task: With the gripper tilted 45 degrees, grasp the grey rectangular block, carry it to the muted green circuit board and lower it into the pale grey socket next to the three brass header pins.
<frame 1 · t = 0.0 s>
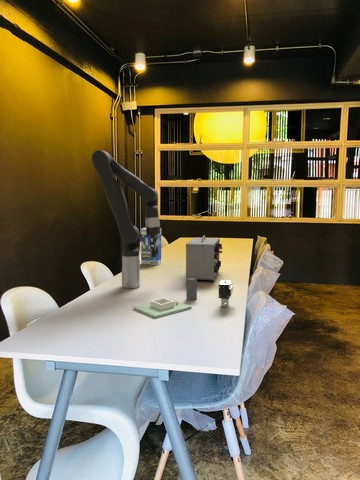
hand: (155, 255, 199), 17 cm above the table, tool pointing down, fingers open, 8 cm apart
string lights box: (151, 264, 267), on the table
circuit board: (162, 308, 163), on the table
vintage electronic device: (205, 276, 227), on the table
grey rectangular block: (191, 299, 178), on the table
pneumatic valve: (225, 306, 167), on the table
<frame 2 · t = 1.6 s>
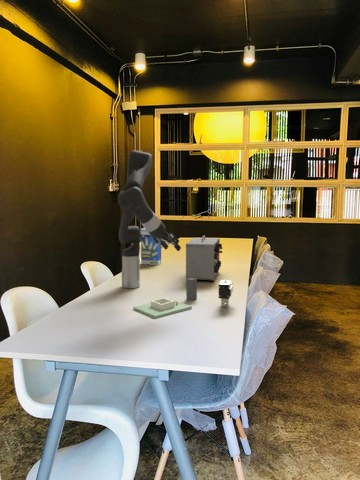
hand: (173, 248, 169), 25 cm above the table, tool tilted 45°, fingers open, 8 cm apart
nothing on the table moved.
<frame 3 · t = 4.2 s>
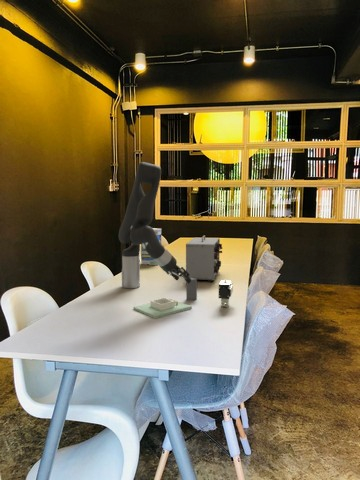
hand: (183, 280, 173), 10 cm above the table, tool tilted 45°, fingers open, 8 cm apart
nothing on the table moved.
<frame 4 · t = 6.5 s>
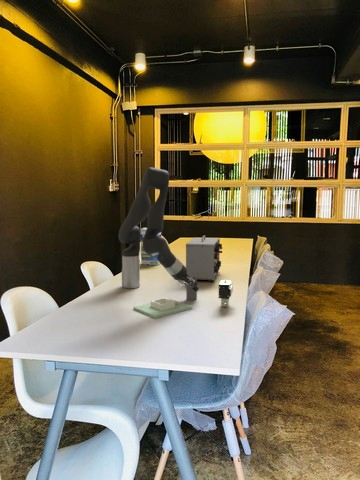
hand: (194, 289, 178), 5 cm above the table, tool tilted 45°, fingers closed on grey rectangular block, 3 cm apart
grey rectangular block: (191, 299, 178), on the table, touching gripper
everything else where it was.
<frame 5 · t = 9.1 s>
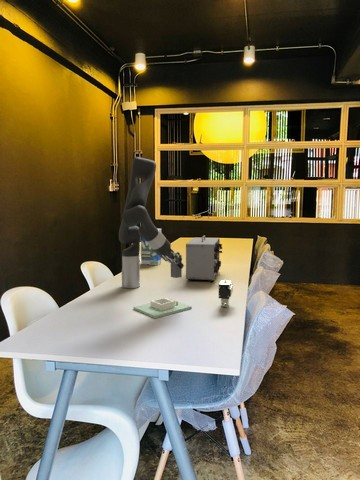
hand: (179, 266, 168), 17 cm above the table, tool tilted 45°, fingers closed on grey rectangular block, 3 cm apart
grey rectangular block: (176, 276, 167), point 13 cm above the table, touching gripper
everything else where it was.
when the fingers open (6 cm above the table, at t = 12.0 s): grey rectangular block stays where it is, resting on circuit board.
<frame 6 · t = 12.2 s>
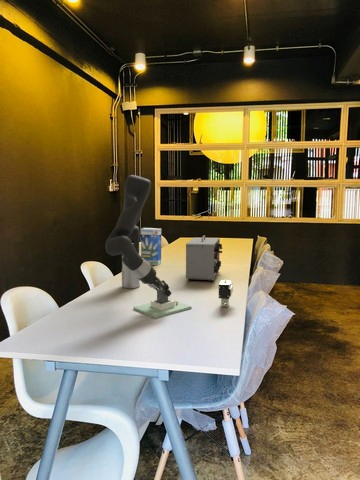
hand: (165, 293, 163), 7 cm above the table, tool tilted 45°, fingers open, 5 cm apart
grey rectangular block: (162, 306, 163), point 1 cm above the table, touching circuit board
everything else where it was.
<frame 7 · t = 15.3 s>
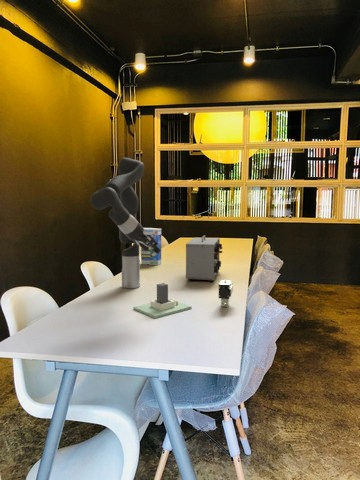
hand: (152, 251, 161), 26 cm above the table, tool tilted 45°, fingers open, 8 cm apart
nothing on the table moved.
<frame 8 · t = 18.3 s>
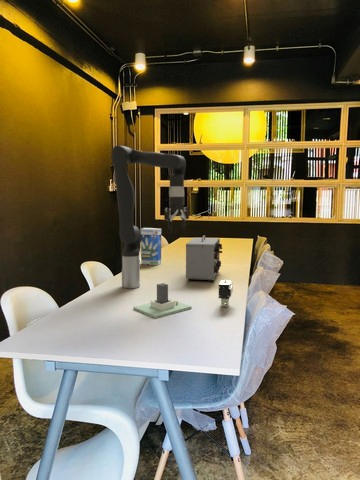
hand: (176, 228, 186), 33 cm above the table, tool pointing down, fingers open, 8 cm apart
nothing on the table moved.
at the end: grey rectangular block 0.1 cm off-centre on the circuit board, point 1.0 cm above the circuit board's base; grey rectangular block tilted 0°; the gripper is holding nothing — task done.
